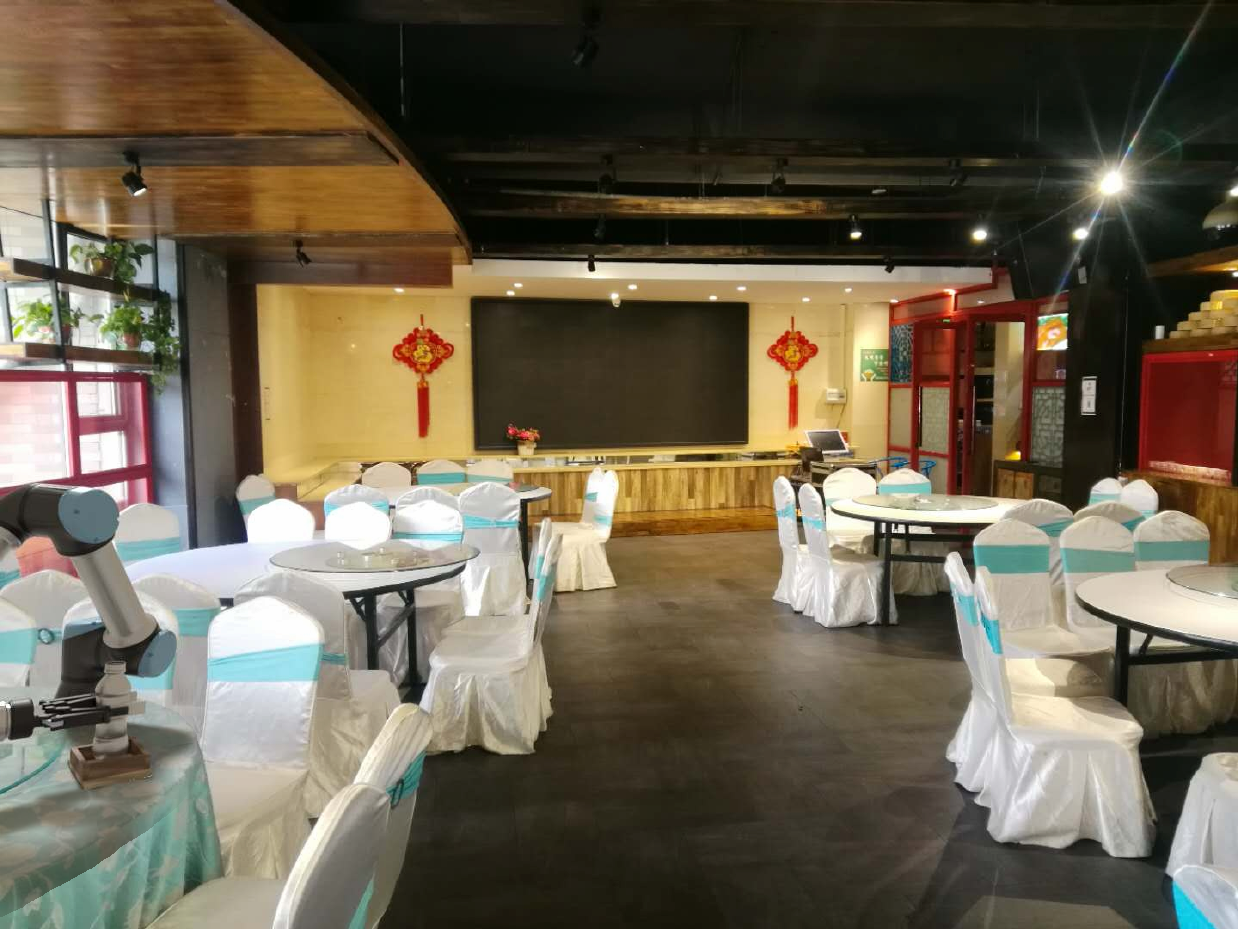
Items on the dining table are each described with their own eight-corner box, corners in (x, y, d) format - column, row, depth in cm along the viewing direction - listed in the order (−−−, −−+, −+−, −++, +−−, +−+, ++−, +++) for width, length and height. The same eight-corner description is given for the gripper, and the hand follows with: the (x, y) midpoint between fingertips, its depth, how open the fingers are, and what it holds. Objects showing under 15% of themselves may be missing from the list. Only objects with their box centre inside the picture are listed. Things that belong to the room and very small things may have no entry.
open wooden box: (67, 763, 176) (68, 744, 176) (131, 752, 184) (132, 734, 184) (84, 790, 164) (85, 770, 164) (152, 776, 173) (153, 757, 172)
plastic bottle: (111, 766, 170) (117, 669, 170) (82, 761, 172) (89, 664, 171) (135, 755, 176) (141, 661, 176) (108, 750, 178) (114, 657, 177)
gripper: (-2, 725, 168) (127, 707, 184) (14, 756, 155) (152, 733, 171) (0, 688, 168) (129, 673, 184) (16, 715, 154) (154, 696, 170)
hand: (140, 702), depth 177 cm, fingers closed on plastic bottle, 6 cm apart
